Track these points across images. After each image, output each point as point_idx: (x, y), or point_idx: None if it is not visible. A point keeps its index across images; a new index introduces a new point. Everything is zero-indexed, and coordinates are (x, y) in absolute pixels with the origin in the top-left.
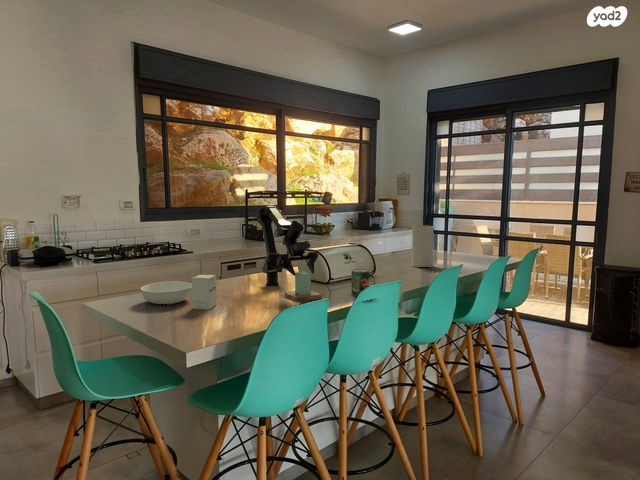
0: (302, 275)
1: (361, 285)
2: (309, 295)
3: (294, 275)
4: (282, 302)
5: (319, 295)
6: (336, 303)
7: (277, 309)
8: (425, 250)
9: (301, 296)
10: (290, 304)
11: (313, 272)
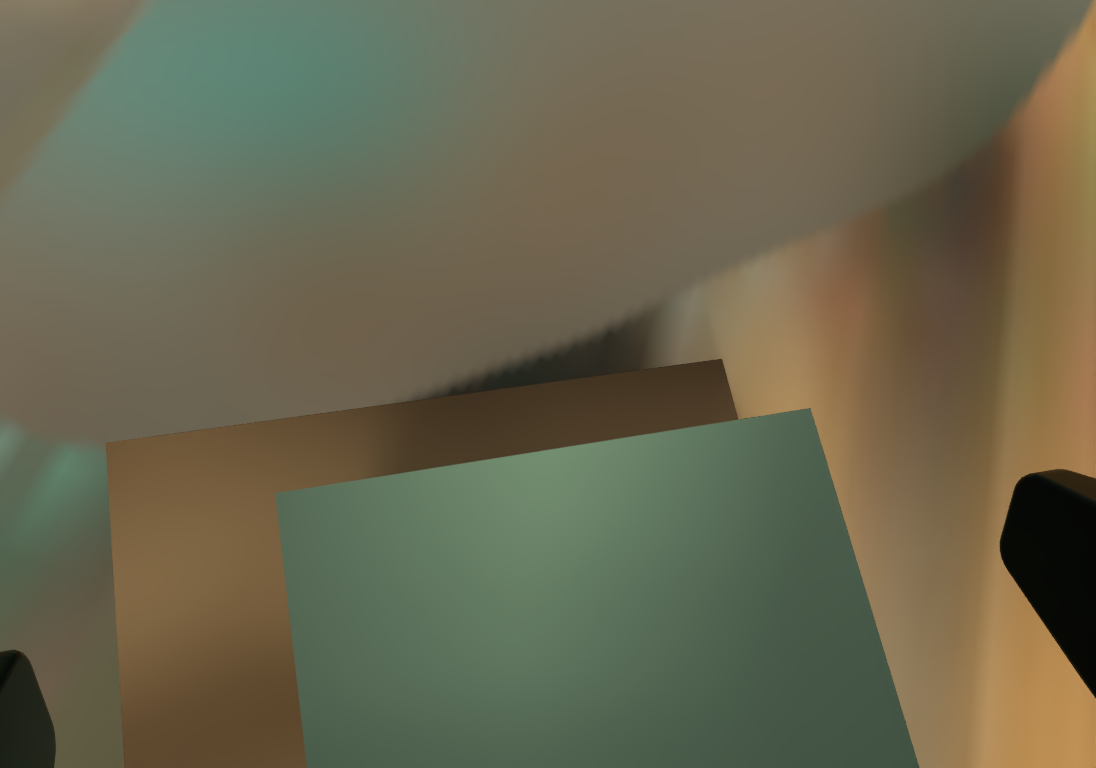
0: (706, 432)
1: None
2: (424, 446)
3: (1025, 519)
4: (939, 467)
5: (178, 436)
6: (67, 34)
7: (1042, 118)
8: None
9: (615, 426)
10: (832, 290)
11: (18, 656)
